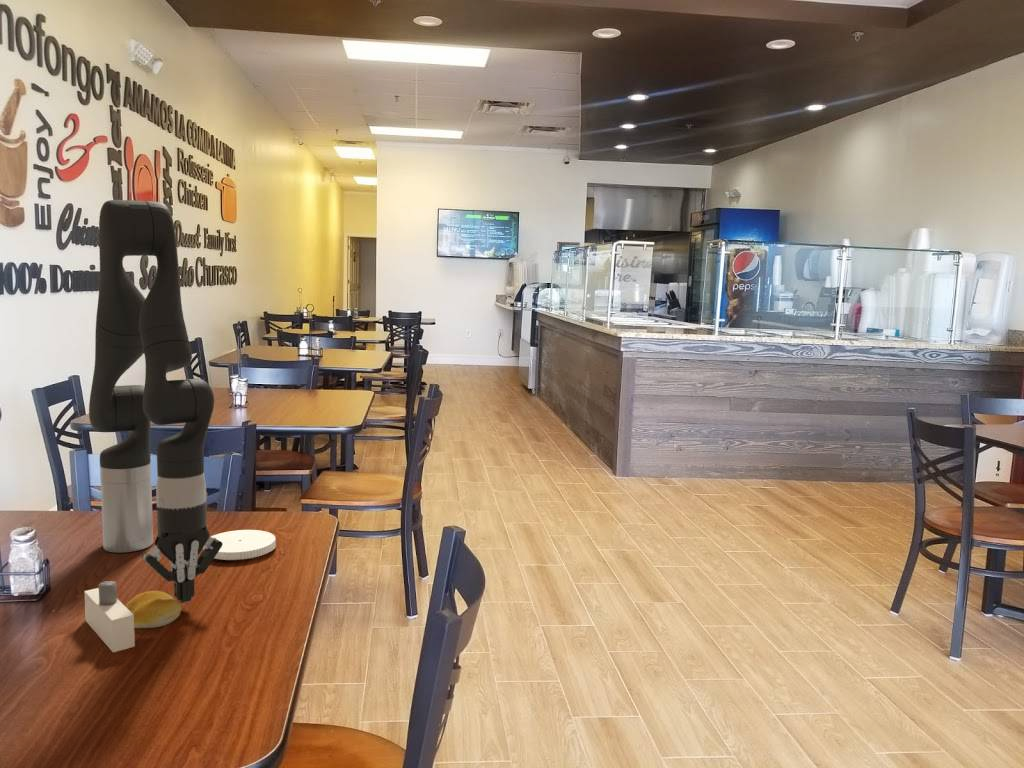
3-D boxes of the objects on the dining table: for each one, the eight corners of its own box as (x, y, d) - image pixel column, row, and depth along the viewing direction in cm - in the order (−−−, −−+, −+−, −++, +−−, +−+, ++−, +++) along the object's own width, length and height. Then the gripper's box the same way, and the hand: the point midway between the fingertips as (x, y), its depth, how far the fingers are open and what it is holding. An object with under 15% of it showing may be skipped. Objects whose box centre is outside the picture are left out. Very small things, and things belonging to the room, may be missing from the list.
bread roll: (135, 635, 118) (134, 611, 118) (118, 616, 125) (117, 593, 124) (189, 621, 124) (189, 597, 123) (170, 603, 130) (169, 580, 130)
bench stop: (85, 620, 122) (83, 573, 121) (105, 615, 124) (104, 568, 123) (113, 652, 112) (111, 600, 111) (134, 646, 114) (133, 595, 113)
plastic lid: (273, 538, 165) (273, 527, 164) (277, 560, 152) (277, 548, 151) (204, 544, 160) (203, 532, 159) (202, 568, 147) (201, 555, 146)
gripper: (212, 488, 132) (214, 584, 135) (131, 502, 123) (134, 604, 125) (230, 498, 127) (232, 597, 129) (147, 512, 118) (150, 619, 120)
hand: (184, 600), depth 127 cm, fingers closed
